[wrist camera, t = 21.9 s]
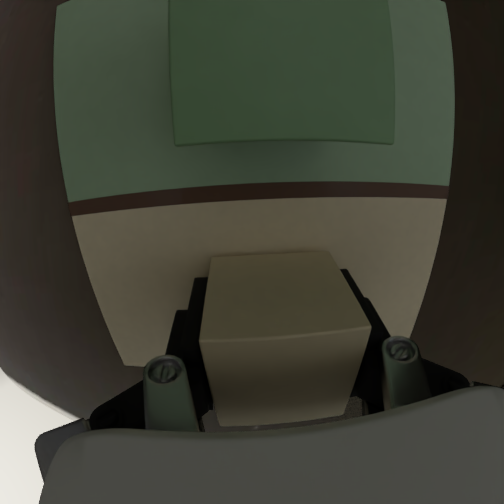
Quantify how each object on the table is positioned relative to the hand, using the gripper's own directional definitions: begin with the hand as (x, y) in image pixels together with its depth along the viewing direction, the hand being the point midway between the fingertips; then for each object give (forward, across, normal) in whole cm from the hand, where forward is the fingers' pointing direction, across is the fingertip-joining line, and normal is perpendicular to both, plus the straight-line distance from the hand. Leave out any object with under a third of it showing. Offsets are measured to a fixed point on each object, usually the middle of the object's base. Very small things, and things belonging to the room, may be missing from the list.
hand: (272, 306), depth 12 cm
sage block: (+1, 0, -9) cm, 9 cm away
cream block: (0, 0, 0) cm, 0 cm away
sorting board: (+1, 0, -4) cm, 5 cm away
